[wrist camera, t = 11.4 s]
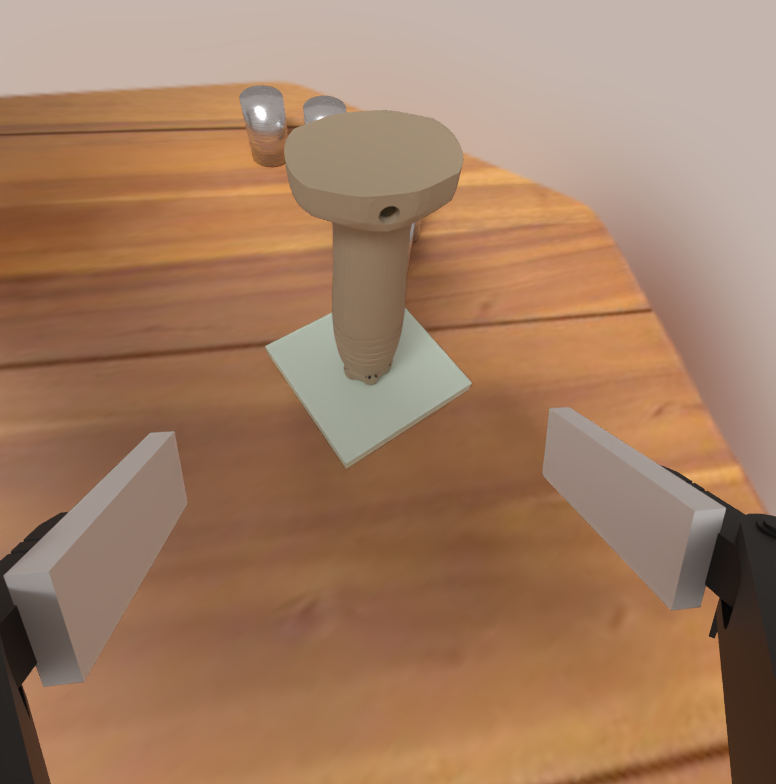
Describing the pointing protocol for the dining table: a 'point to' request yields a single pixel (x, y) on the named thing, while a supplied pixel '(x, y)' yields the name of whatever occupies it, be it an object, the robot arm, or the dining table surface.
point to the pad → (366, 386)
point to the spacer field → (285, 127)
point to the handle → (371, 216)
